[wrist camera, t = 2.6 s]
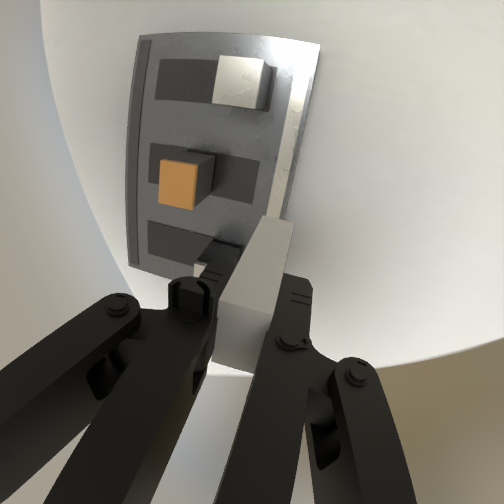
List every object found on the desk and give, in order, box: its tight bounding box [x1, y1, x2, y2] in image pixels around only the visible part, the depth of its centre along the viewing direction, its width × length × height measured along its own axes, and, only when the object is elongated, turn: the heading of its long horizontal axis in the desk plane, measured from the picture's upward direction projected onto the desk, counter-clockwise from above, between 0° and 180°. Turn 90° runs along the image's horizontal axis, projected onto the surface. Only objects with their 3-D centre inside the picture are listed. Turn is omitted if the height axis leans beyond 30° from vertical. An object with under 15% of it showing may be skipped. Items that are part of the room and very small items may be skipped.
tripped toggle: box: [158, 151, 215, 210], centre depth 19 cm, size 3×2×4 cm
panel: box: [125, 32, 320, 280], centre depth 20 cm, size 22×14×6 cm, turn 171°
